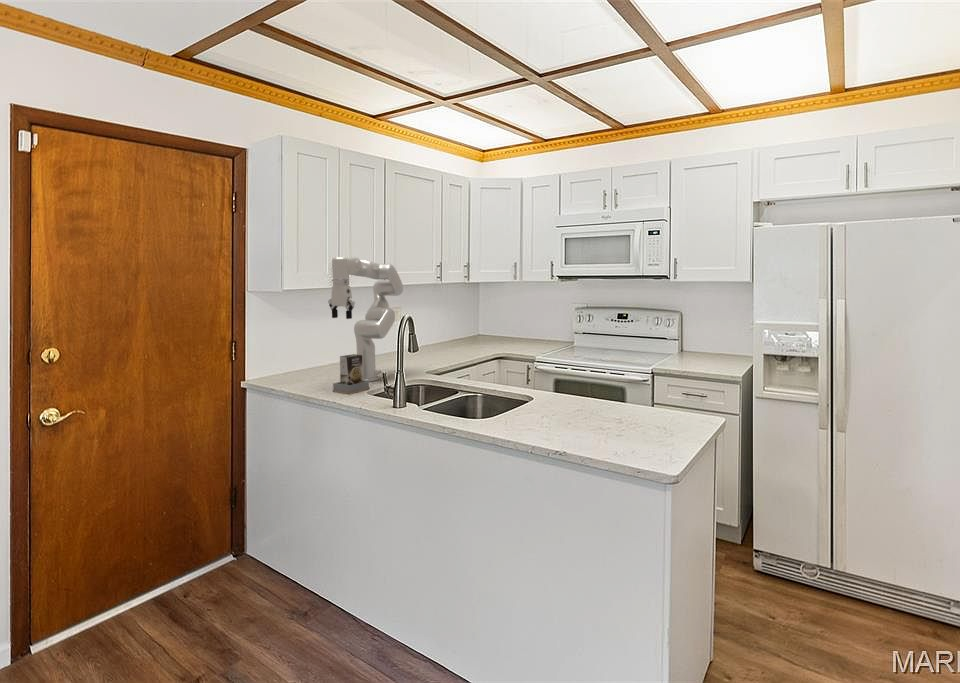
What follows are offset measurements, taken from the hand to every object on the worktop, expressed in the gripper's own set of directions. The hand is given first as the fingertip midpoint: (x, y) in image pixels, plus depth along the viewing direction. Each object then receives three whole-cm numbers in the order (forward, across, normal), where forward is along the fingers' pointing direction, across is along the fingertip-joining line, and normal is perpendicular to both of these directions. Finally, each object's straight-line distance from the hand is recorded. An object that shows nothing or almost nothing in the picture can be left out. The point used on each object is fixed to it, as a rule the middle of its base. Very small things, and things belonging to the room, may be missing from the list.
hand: (341, 318), depth 276 cm
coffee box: (+34, -9, +3) cm, 35 cm away
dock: (+34, -8, +4) cm, 36 cm away
